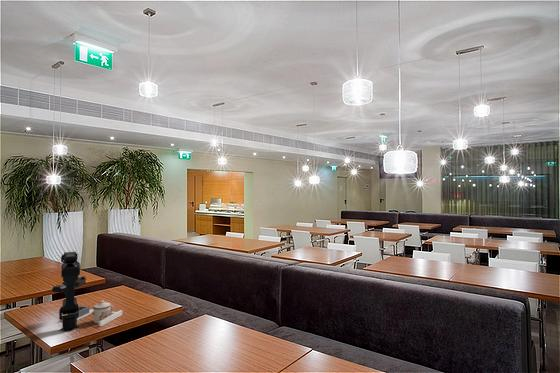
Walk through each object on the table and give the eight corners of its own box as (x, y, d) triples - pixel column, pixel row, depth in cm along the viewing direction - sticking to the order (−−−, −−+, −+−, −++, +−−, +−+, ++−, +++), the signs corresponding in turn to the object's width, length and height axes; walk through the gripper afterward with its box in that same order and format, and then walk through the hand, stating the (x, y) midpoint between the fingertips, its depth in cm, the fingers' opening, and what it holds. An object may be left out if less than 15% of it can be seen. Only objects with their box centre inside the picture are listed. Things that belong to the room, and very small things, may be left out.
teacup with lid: (99, 324, 189) (100, 304, 189) (89, 321, 193) (89, 301, 193) (118, 317, 200) (118, 298, 200) (108, 314, 204) (108, 295, 204)
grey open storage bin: (100, 326, 187) (101, 318, 187) (61, 322, 192) (61, 313, 192) (122, 314, 204) (122, 306, 204) (85, 310, 210) (85, 303, 210)
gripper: (68, 278, 185) (67, 306, 185) (93, 270, 203) (93, 295, 203) (51, 277, 187) (51, 304, 187) (77, 269, 206) (77, 294, 206)
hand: (69, 299), depth 196 cm, fingers closed
